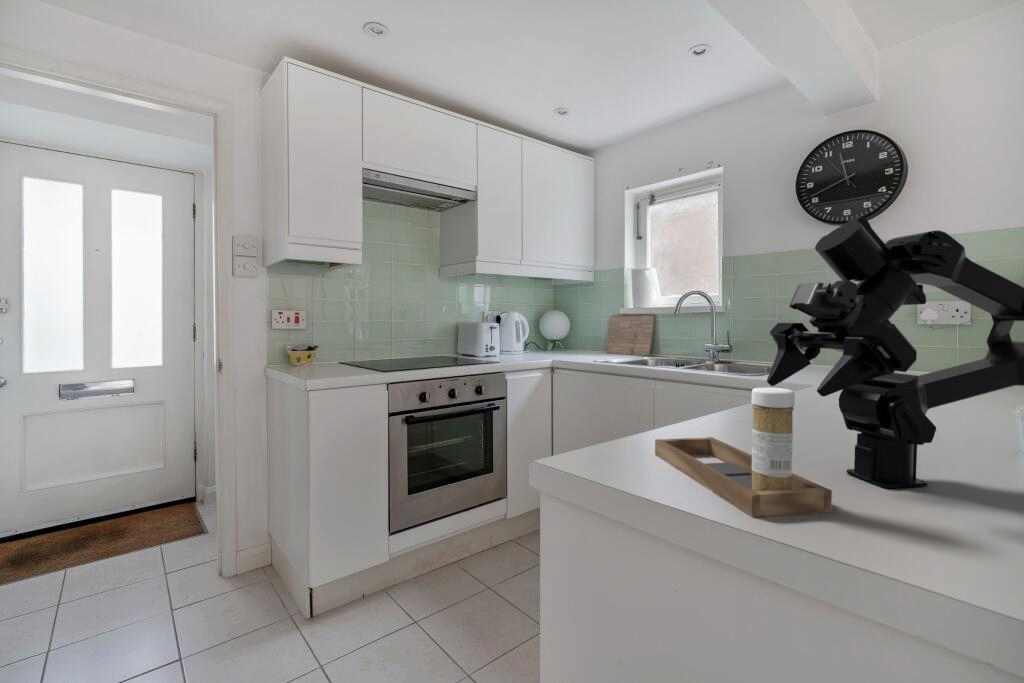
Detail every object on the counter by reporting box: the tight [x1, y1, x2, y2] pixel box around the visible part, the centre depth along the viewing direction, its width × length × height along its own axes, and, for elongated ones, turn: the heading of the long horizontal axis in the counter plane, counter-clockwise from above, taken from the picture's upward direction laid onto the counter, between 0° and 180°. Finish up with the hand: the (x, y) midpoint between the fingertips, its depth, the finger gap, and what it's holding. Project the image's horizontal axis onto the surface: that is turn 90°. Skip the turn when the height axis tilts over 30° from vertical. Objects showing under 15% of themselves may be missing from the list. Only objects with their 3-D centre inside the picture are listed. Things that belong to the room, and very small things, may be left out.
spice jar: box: [751, 386, 796, 491], centre depth 57 cm, size 5×5×14 cm
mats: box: [705, 462, 752, 489], centre depth 66 cm, size 8×11×1 cm
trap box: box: [654, 436, 833, 518], centre depth 66 cm, size 10×25×2 cm, turn 8°
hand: (792, 388), depth 63 cm, fingers open, 9 cm apart
